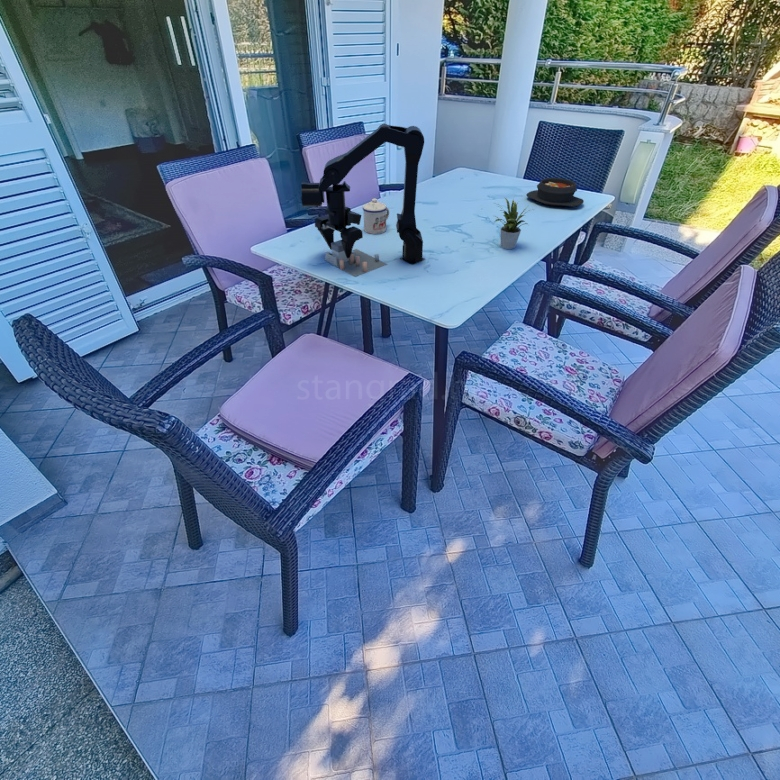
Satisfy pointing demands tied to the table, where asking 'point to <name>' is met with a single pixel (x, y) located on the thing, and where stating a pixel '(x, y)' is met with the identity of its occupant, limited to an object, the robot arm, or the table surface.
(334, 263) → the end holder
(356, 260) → the pegs
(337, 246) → the block
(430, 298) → the table surface
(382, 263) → the mat
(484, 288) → the table surface
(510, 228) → the house plant
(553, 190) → the casserole
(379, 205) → the teacup with lid
